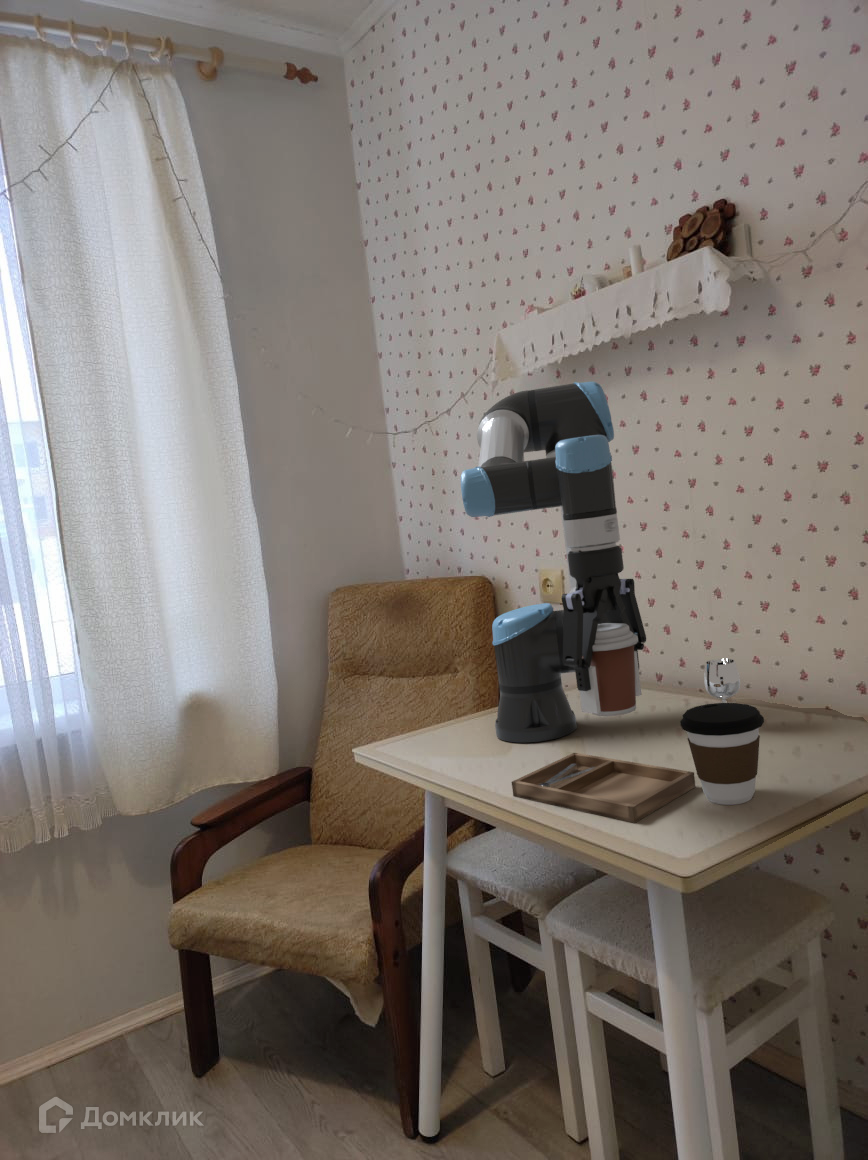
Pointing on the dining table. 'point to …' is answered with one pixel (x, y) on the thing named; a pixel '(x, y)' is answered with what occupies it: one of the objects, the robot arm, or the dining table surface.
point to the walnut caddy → (607, 786)
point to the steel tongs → (564, 776)
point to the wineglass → (721, 678)
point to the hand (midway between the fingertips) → (612, 703)
